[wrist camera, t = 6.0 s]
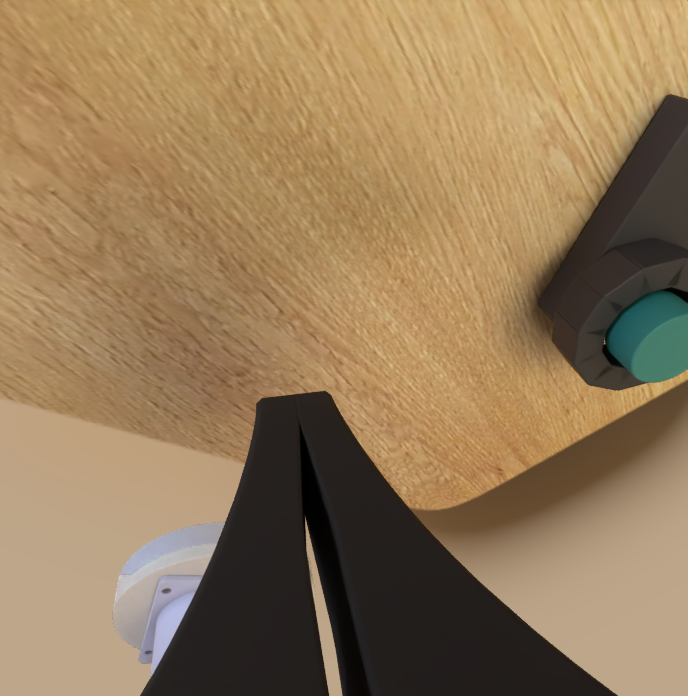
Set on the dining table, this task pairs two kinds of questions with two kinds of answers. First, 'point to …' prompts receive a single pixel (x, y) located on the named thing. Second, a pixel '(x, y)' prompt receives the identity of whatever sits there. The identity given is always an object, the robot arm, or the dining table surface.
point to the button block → (625, 250)
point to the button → (651, 337)
